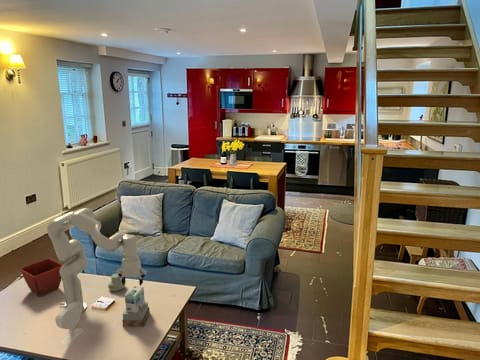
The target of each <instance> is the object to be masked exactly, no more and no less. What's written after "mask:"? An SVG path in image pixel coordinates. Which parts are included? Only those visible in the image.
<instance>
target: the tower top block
mask: <svg viewBox="0 0 480 360" xmlns="http://www.w3.org/2000/svg"><path fill="white" fill-rule="evenodd" d="M148 307H149V301H145V303H144V305H143V306H142V307H141V308H140V310H139V311H138V312H137V313H133V312H126V308H125V309H124V311H123V313H122V320H141V321H143V318H144V316H145V314H146V312H147V310H148Z"/></svg>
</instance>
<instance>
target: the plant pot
mask: <svg viewBox="0 0 480 360" xmlns="http://www.w3.org/2000/svg"><path fill="white" fill-rule="evenodd" d="M63 265H64V264H61V263H59V262H58V261H55V260H53V259H52V258H49V257H48V258H45V259H42V260H40V261H37V262H34V263H31V264H29V265H25V266H23V267H21V268H20V272H21V275H22V277H23V279H24V281H25V282H26V285H27V287H28V288H29V290H30V291H31V292H32V293H33V294H35V295H37V296H38V297H43V296H45V295H47V294H50V293H52V292H55V291H56V290H58V289H59V288H60V285H61V283H62V278H61V276H60V272H59V271H60V268H61V267H62V266H63Z"/></svg>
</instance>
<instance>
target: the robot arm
mask: <svg viewBox="0 0 480 360" xmlns="http://www.w3.org/2000/svg"><path fill="white" fill-rule="evenodd" d="M46 227H47V228H46V231H47V234H48V236H49V238H50V240H51V243H52V245H53V248H54V252H55V255H56V258H57V259H58V260H59V261H60V262H61V263H62V262H63V263H64V262H65V263H64V264H62V265H63V266H62V267H61V268H60V271H59V272H60V276H61V283H62V287H63V292H64V299H65V300H64V301H65V302H60V304H59V305H60V308H61V309H62V308H63V309H66V308H67V306H68V305H69V304H70V303H72V302H79V303H82V313H83V312H85V311H86V310H87V303H86V302H84V298H83V289H82V283H81V280H80V278H79V277H78V275H79V274H80V273H81V272H83V271H84V270H86V269H87V267H88V264H89V263H88V258H87V255H86V252H85V249H84V248H85V247H84V246H83V244H82V243H81V242H80V241H79V240H78V239H74V238H73V239H69V237H68V235H67V234H66V231H67V230H69V229H72V228H74V227H75V228H77V229H79V230H80V231H82V232H84V233H86V234H88V235H90V236H91V239H92V240H93V242H94V243H95V245H96V246H97V247H99V248H101V249H102V250H105V251H106V252H110V253H113V252H115V251H117V250H118V249H119V248H122V249H123V250H122V251H123V254H120V257H121V258H122V259H121V267H120V268H119V269H118V268H117V270H115V272H116V274H118V276H119V277H121V279H122V284H123V285H124V284H125V285H126V278H139V280H138V281H139V282H138V284H139V285H138V286H140V287H142V284H143V283H144V277H146V275H147V273H148V270H147V269H144V268H142V264H141V260H140V257H139V256H138V254H139V253H138V239H137V236H136V235H135V234H128V233H126V232H122V231H118V232H116V233H114V234H113V235H111V236H110V237H107V236H105V235H103V234H102V232H100V231H101V228H102V224H101V221H99V220H97V219H95V213H94V211H93V209H91V208H89V207H83V208H79V209H76V210H73V211H70V212H67V213H65V214H63V215H62V216H59V217H56V218H54V219H53V220H52V221H50V222H49V223H48V225H47V226H46Z"/></svg>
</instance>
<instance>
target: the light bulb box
mask: <svg viewBox="0 0 480 360" xmlns="http://www.w3.org/2000/svg"><path fill="white" fill-rule="evenodd" d="M144 287H145V286H140V285H132V287H131V288H130V289H129V290H128V291H127V292H126V293H125V294H124V302H125V303H124V304H125V309H126V312H133V313H137V312H138V311H139V310H140V308H141V307H142V306H143V305H144V303H145V302H146V300H145V289H144Z"/></svg>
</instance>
